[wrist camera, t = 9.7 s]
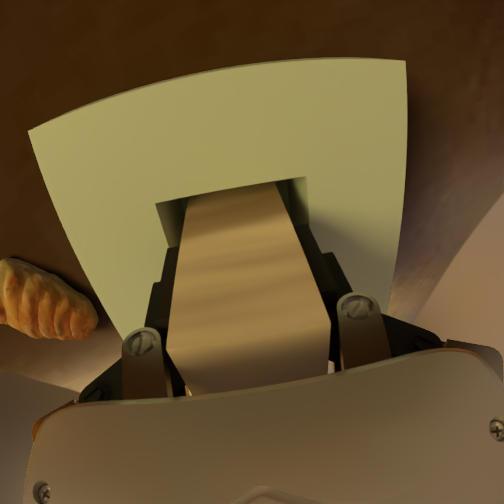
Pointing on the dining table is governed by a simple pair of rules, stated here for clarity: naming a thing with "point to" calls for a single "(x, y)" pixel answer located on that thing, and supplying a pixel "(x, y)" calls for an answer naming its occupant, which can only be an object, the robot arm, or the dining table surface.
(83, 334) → the pastry
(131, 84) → the dining table surface
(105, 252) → the well block
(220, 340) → the birch block
